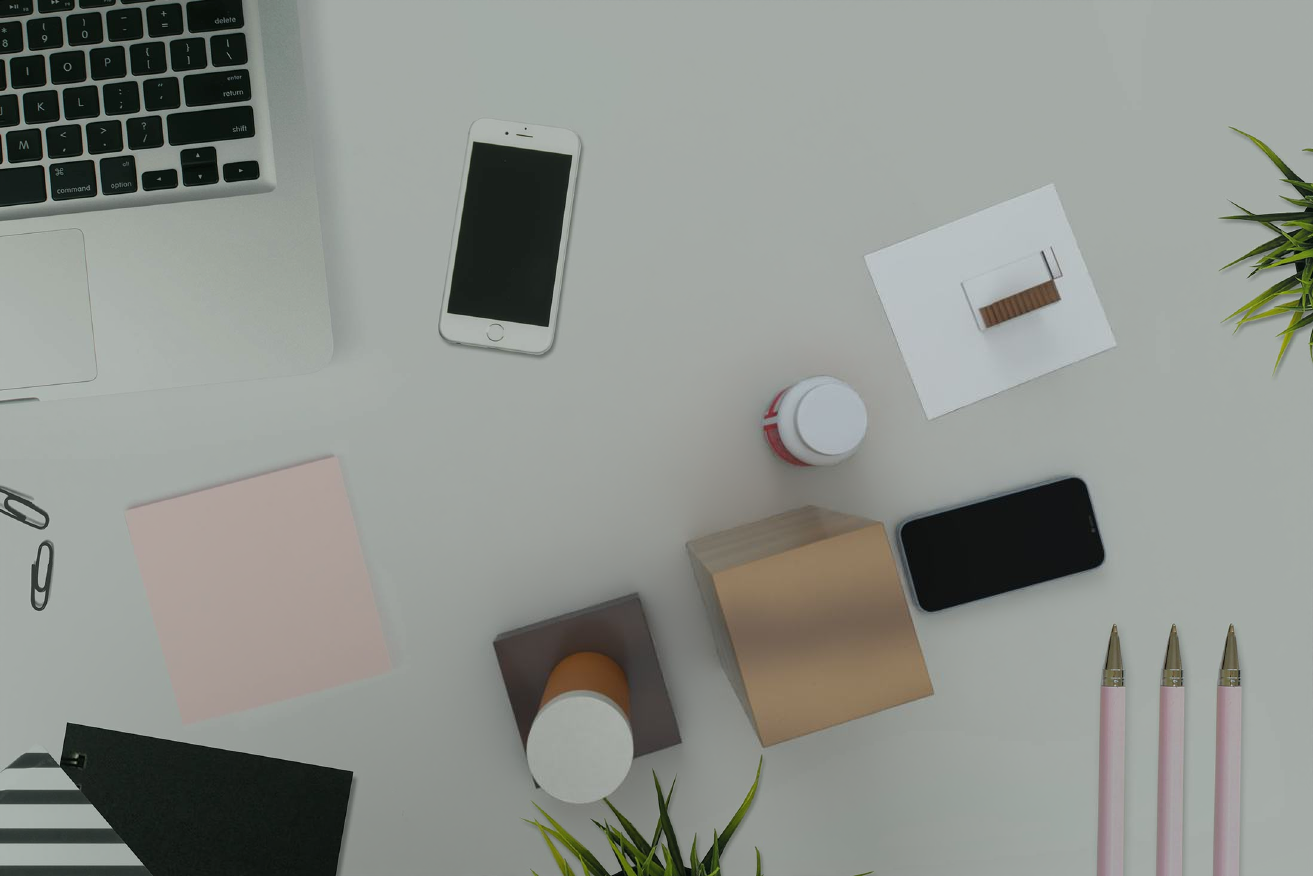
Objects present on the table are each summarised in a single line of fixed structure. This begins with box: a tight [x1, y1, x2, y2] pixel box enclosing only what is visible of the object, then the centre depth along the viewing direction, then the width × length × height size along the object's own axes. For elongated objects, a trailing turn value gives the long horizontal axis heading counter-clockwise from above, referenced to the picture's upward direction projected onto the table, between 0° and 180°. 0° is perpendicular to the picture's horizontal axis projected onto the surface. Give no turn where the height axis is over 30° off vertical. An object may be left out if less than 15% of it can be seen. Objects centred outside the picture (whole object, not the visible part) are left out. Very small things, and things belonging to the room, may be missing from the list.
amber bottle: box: [526, 652, 634, 805], centre depth 62 cm, size 6×6×14 cm
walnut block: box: [492, 592, 683, 790], centre depth 71 cm, size 11×11×3 cm
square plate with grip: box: [863, 182, 1118, 421], centre depth 71 cm, size 16×14×6 cm
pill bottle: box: [761, 375, 869, 467], centre depth 68 cm, size 6×6×11 cm
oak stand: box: [685, 504, 935, 749], centre depth 63 cm, size 10×10×20 cm
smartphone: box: [895, 475, 1107, 615], centre depth 73 cm, size 7×1×15 cm
